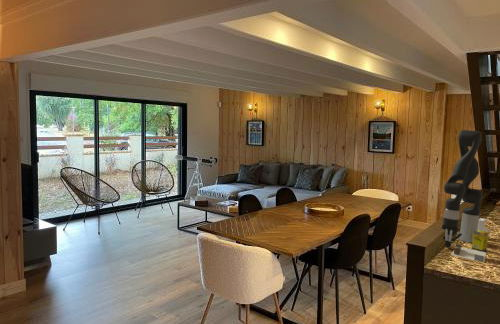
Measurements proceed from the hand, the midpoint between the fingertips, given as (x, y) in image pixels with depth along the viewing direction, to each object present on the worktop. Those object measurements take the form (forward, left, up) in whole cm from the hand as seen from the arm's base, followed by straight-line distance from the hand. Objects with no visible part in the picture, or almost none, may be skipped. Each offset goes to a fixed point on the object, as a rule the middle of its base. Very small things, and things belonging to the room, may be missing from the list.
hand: (447, 247), depth 210 cm
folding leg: (+3, +5, 0) cm, 6 cm away
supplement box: (-18, +15, -2) cm, 24 cm away
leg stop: (+11, +16, 0) cm, 19 cm away
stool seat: (+2, +11, -2) cm, 11 cm away
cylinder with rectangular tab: (-53, +14, -2) cm, 55 cm away
